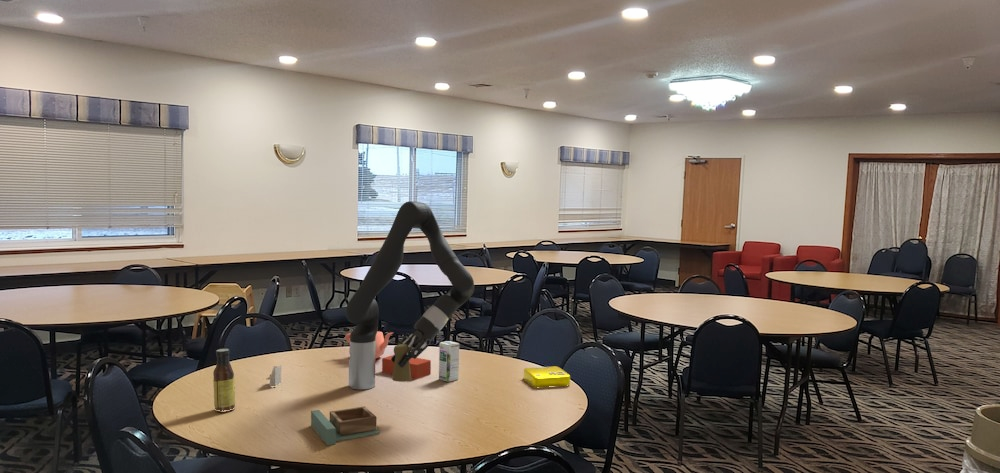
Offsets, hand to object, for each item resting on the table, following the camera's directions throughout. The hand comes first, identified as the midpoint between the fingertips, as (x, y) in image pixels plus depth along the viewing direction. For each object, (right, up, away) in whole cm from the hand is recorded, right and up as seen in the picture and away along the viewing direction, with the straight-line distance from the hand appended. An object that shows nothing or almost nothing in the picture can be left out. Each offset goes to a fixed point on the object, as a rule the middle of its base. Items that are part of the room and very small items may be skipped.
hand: (396, 363), depth 205 cm
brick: (-5, -15, +54) cm, 56 cm away
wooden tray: (-12, -18, -9) cm, 23 cm away
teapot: (-24, -13, +76) cm, 81 cm away
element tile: (+51, -17, +46) cm, 70 cm away
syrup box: (+13, -16, +46) cm, 51 cm away
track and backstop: (-13, -18, -11) cm, 25 cm away
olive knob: (+2, -5, +1) cm, 6 cm away
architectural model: (-50, -16, +34) cm, 63 cm away
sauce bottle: (-57, -17, +6) cm, 60 cm away
